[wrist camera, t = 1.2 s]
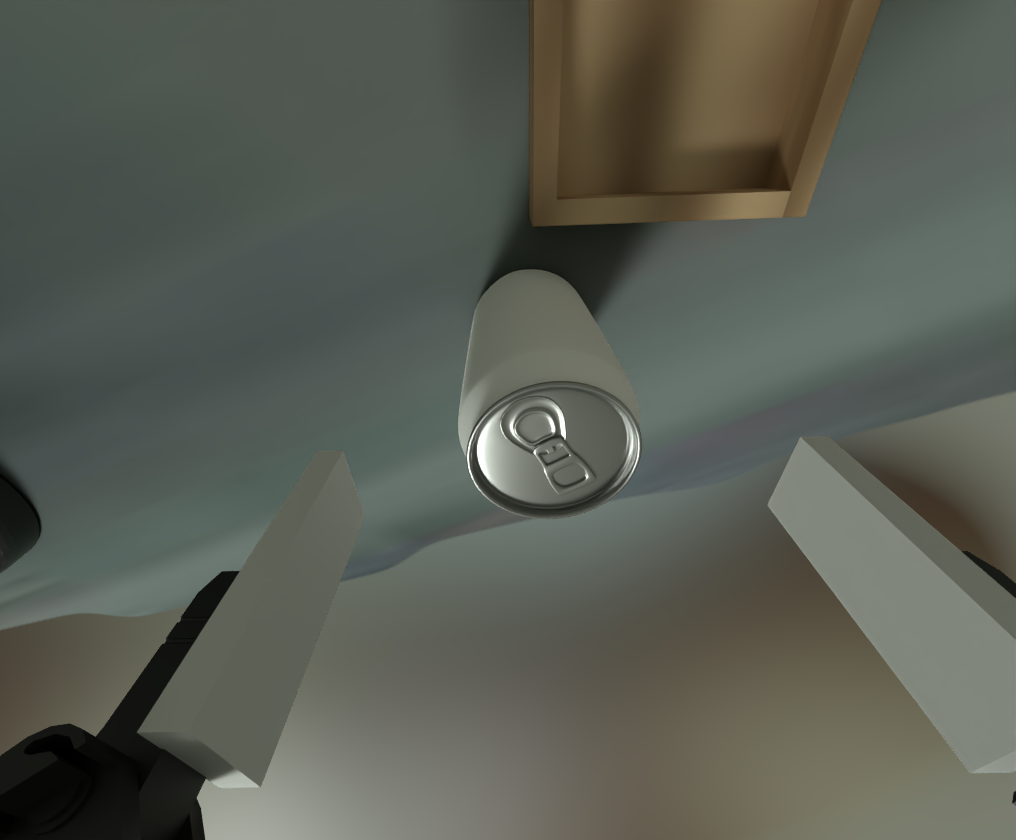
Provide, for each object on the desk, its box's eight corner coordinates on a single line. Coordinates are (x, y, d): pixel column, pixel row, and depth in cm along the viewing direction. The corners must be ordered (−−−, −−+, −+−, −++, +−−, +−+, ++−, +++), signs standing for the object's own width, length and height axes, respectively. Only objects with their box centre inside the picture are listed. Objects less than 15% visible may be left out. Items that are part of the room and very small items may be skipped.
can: (552, 241, 20) (606, 325, 10) (603, 341, 23) (683, 481, 13) (450, 308, 22) (409, 435, 12) (510, 392, 25) (518, 549, 15)
